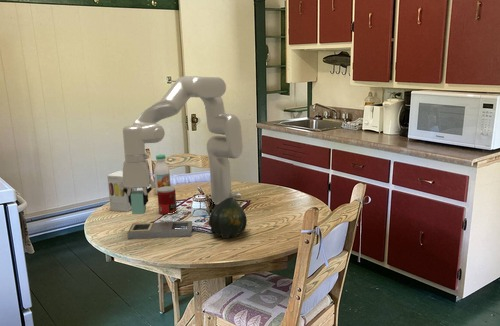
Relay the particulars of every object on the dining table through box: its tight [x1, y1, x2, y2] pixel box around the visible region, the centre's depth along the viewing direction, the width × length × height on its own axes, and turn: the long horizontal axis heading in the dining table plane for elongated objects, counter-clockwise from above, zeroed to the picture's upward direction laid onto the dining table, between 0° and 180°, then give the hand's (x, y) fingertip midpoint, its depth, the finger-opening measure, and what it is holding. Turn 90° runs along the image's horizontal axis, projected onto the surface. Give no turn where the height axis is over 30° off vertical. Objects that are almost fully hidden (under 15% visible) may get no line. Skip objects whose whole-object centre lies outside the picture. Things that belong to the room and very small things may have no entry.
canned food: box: [156, 186, 177, 216], centre depth 193 cm, size 8×8×11 cm
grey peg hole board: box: [127, 220, 193, 240], centre depth 171 cm, size 24×10×3 cm, turn 93°
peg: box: [131, 190, 147, 215], centre depth 168 cm, size 4×4×8 cm
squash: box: [208, 197, 248, 239], centre depth 167 cm, size 14×15×15 cm
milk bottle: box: [153, 154, 172, 196], centre depth 220 cm, size 8×8×20 cm
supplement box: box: [107, 170, 138, 213], centre depth 199 cm, size 10×9×17 cm
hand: (138, 203), depth 168 cm, fingers closed on peg, 4 cm apart
